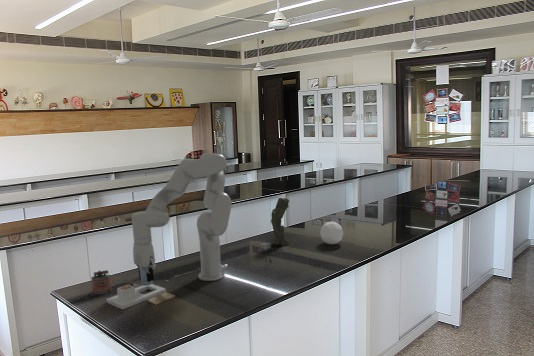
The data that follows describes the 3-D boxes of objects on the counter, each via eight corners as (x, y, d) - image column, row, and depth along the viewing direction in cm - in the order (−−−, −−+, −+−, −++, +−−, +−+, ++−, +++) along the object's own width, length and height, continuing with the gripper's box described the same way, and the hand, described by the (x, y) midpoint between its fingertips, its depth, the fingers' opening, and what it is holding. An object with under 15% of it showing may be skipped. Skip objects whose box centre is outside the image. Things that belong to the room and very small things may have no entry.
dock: (149, 286, 209) (148, 273, 208) (166, 291, 201) (165, 279, 200) (106, 302, 192) (105, 289, 191) (122, 309, 184) (121, 295, 183)
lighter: (92, 294, 200) (90, 273, 199) (93, 292, 204) (91, 271, 202) (111, 292, 203) (109, 271, 201) (111, 289, 206) (109, 268, 204)
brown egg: (127, 294, 194) (126, 284, 194) (131, 296, 192) (130, 286, 192) (121, 296, 192) (121, 286, 191) (125, 298, 190) (124, 288, 190)
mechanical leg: (272, 247, 257) (279, 198, 258) (264, 245, 263) (272, 196, 263) (289, 248, 266) (296, 200, 266) (281, 245, 271) (288, 198, 271)
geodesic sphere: (310, 235, 263) (323, 218, 257) (319, 229, 275) (332, 213, 269) (329, 252, 259) (343, 235, 253) (337, 245, 271) (350, 229, 265)
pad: (166, 293, 199) (166, 292, 199) (175, 296, 195) (174, 295, 195) (147, 301, 192) (147, 299, 192) (156, 304, 188) (155, 303, 188)
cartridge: (148, 280, 203) (146, 261, 202) (155, 282, 200) (153, 263, 199) (139, 284, 200) (137, 264, 198) (145, 286, 196) (143, 266, 195)
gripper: (124, 239, 199) (128, 278, 202) (147, 245, 188) (151, 286, 191) (138, 235, 205) (142, 273, 208) (161, 240, 194) (165, 280, 197)
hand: (146, 279), depth 199 cm, fingers closed on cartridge, 4 cm apart
